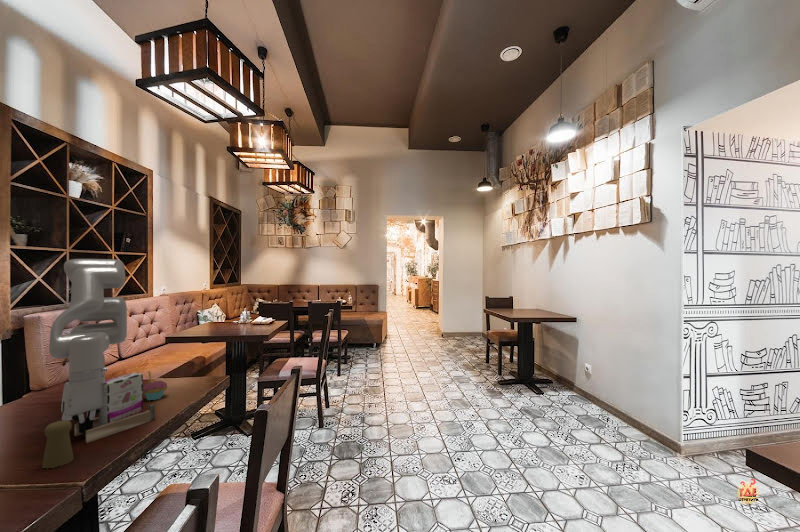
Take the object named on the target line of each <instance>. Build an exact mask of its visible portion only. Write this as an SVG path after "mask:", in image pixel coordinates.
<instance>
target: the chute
mask: <svg viewBox="0 0 800 532" xmlns="http://www.w3.org/2000/svg"><path fill="white" fill-rule="evenodd" d="M155 413H156V412H155V404H154V403H153V404H150V405H148V410H146V411H143V412H142V413H139V414H136V415H133V416H130V417H127V418H124V419H121V420H118V421H114V422H111V423H108V424H105V425H102V426H99V423H98V422H99V419H98V418H99V416H98V417H95V418H94V419H93V429H90V430H86V435H85V443H86V444H88V443H89V444H90V443H91V442H95V441H98V440H100V439H103V438H107V437H109V436H112V435H115V434H118V433H120V432H124V431H127V430H129V429H132V428H135V427H138V426H141V425H144V424H146V423H150V422H152V421H155V420H156V419H155V416H156V414H155ZM73 431H74V433H73V434H74V437H78V436H80V435H82V434H81V433H79V432H78V422H77V423H75V424H74V430H73Z"/></svg>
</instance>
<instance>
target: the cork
mask: <svg viewBox="0 0 800 532" xmlns="http://www.w3.org/2000/svg"><path fill="white" fill-rule="evenodd" d="M72 427H73V425H72V422H71V420H62V419H61V420H57V421H55V422H51V423H49V424H48V425H47V426H46V427H45V428H44V435H45V437H46V444H45V448H44V453H43V454H44V455H43V460H42V465H41V469H42V468H47V469H46V470H49V469H48V468H52V469H56V468H55V467H57V468H59V467H58V466H60V467H62V465H63V466H65V465H68V464H69V463H71V462H72V461H73V460H74V453H73V448H72V443H71V436H70V431H71V430H72ZM64 464H65V465H64Z"/></svg>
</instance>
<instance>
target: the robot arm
mask: <svg viewBox="0 0 800 532" xmlns="http://www.w3.org/2000/svg"><path fill="white" fill-rule="evenodd" d="M63 271H64V273H65V274H66V275H65V276H66V277H67V279H68V280H69V281H70V282H71V293H70V294H71V295H70V306H69V307H68V308H66V309H65V310H63V312H61V313H60V314H59V315H58V316H57V317H56V318H55V319H54V321H53V323H52V325H51V328H50V333H49V345H48V346H49V347H48V349H49V355H50V356H51V358H54V359H57V360H58V359H68V381H66V382H65V383H64V386H63V389H62V390H63V391H62V397H61V405H60V407H61V408H60V410H61V413H62V416H61V421H62V420H68V421H75V422H77V423H78V432H79V433H81V435H82V436H86V430H90V429H93V419H94V418H96V416H97V415H99V412H100V408H102V407H103V405H104V383H106V376H105V375H106V372H108V367H106V358H105V354H104V352H106V350H107V349H108V348H109V347H110V346H111V345H118V344H121V343H124V342H125V341H126V339H127V336H128V322H127V321H128V316H127V315H128V308H127V302H126V300H125V298H123V297H119V296H112V297H109V296H108V297H105V296H104V294H105V290H104V289H120V288H122V287H123V286H124V285H125V282H126V269H125V264H124V262H123V260H120V259H116V258H115V259H113V258H107V259H106V258H72V259H68V260H66V261H65V262H64V264H63ZM76 320H77V321H79V322H92V323H84V324H79V325H77V326H75V327H73V328H72V329H71V331H70V333H69V334H63V331H64V329H65V328H66V326H68V325H69V324H70V323H72V322H74V321H76ZM99 321H100V322H99ZM101 321H108V322H101ZM93 322H94V323H93ZM96 322H97V323H96ZM85 413H86V418H85V415H84V414H85Z"/></svg>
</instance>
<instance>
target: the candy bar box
mask: <svg viewBox="0 0 800 532" xmlns="http://www.w3.org/2000/svg"><path fill="white" fill-rule="evenodd" d="M143 377H144V375H143V373H142V372H141V373H140V372H130V373H127V374H124V375H120V376H117V377H114V378H110V379H107V380H106V379H105V381H106V383H104V405H103V407H102V408H100V412H99V413H98V417H99V418H98V419H99V422H98V423H99V426H102V425H105V424H108V423H111V422H114V421H118V420H121V419H124V418H127V417H130V416H133V415H136V414H139V413H142V412H144V411H143V410H144V403H143V401H144V400H143V399H144V398H143V397H144V396H143V395H144V393H143V387H144V385H143V383H144V382H143V381H144V378H143Z"/></svg>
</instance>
